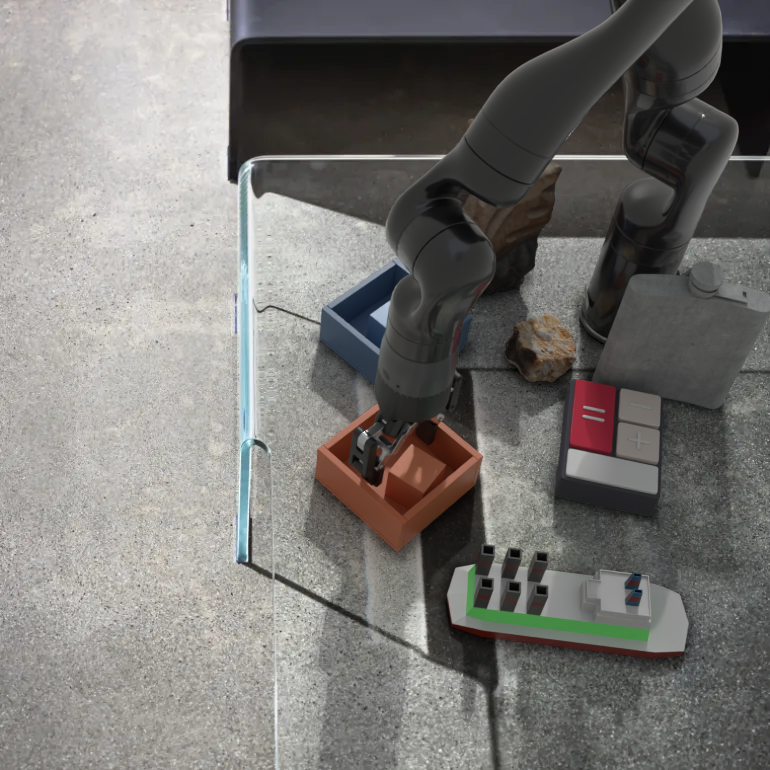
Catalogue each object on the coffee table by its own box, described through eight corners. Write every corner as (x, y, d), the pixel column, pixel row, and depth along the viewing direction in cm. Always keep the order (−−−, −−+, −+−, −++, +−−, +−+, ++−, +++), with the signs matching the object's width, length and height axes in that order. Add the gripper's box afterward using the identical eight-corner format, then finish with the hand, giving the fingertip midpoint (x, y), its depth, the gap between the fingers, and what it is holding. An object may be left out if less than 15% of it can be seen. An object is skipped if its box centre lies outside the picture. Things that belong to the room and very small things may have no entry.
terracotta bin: (394, 415, 133) (399, 386, 129) (475, 484, 128) (483, 456, 124) (314, 477, 127) (317, 448, 122) (397, 552, 122) (402, 524, 118)
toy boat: (448, 564, 122) (459, 525, 116) (683, 594, 122) (706, 557, 116) (443, 632, 117) (455, 595, 111) (688, 663, 117) (712, 628, 111)
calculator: (665, 392, 134) (662, 495, 124) (655, 415, 137) (651, 517, 127) (572, 373, 135) (562, 474, 125) (564, 396, 138) (553, 497, 128)
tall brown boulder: (426, 231, 152) (446, 110, 136) (519, 230, 154) (550, 109, 138) (440, 304, 144) (464, 184, 129) (538, 301, 146) (573, 182, 130)
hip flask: (591, 392, 138) (635, 277, 122) (591, 366, 140) (634, 250, 125) (723, 410, 138) (784, 298, 122) (720, 384, 140) (780, 270, 125)
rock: (541, 399, 137) (600, 350, 140) (535, 366, 132) (596, 316, 135) (491, 364, 142) (549, 318, 145) (484, 331, 138) (544, 284, 141)
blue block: (391, 320, 141) (395, 295, 138) (418, 342, 139) (423, 317, 136) (365, 339, 139) (369, 314, 135) (392, 361, 137) (396, 336, 134)
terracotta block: (406, 466, 128) (411, 443, 125) (441, 487, 127) (446, 464, 123) (384, 494, 126) (388, 471, 122) (418, 515, 124) (423, 493, 121)
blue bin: (391, 288, 145) (396, 257, 141) (466, 346, 140) (473, 316, 136) (319, 339, 139) (321, 308, 135) (394, 402, 134) (398, 372, 130)
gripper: (392, 428, 107) (376, 520, 120) (494, 350, 114) (468, 444, 127) (336, 379, 110) (326, 474, 123) (438, 306, 117) (419, 403, 130)
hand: (398, 459), depth 125 cm, fingers open, 7 cm apart
